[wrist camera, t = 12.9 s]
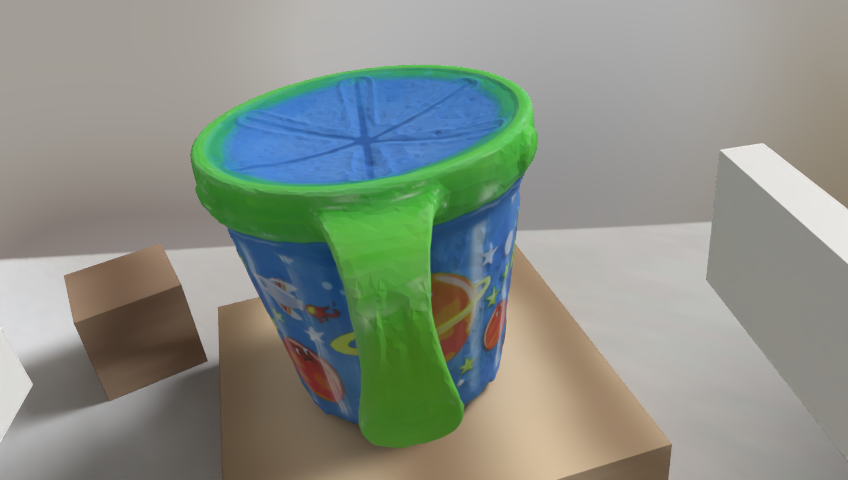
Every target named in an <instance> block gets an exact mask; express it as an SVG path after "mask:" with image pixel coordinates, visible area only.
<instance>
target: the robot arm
mask: <svg viewBox="0 0 848 480" xmlns="http://www.w3.org/2000/svg"><path fill="white" fill-rule="evenodd" d="M706 280H707V281H708V282H709V284H710V285H711V286H712V288H713V289H714V290H715V291H716V293H717V294H718V295H719V297H720V298H721V299H722V300H723V302H724V303H725V304H726V306H727V307H728V308H729V310H730V311H731V312H732V313H733V315H734V316H735V317H736V319H737V320H738V321H739V322H740V324H741V325H742V326H743V328H744V329H745V330H746V331H747V333H748V334H749V335H750V337H751V338H752V339H753V340H754V342H755V343H756V344H757V346H758V347H759V348H760V349H761V351H762V352H763V353H764V355H765V356H766V357H767V358H768V360H769V361H770V362H771V364H772V365H773V366H774V367H775V369H776V370H777V371H778V373H779V374H780V375H781V376H782V378H783V379H784V380H785V382H786V383H787V384H788V386H789V387H790V388H791V389H792V391H793V392H794V393H795V395H796V396H797V397H798V398H799V400H800V401H801V402H802V404H803V405H804V406H805V407H806V409H807V410H808V411H809V413H810V414H811V415H812V416H813V418H814V419H815V420H816V422H817V423H818V424H819V425H820V427H821V428H822V429H823V431H824V432H825V433H826V434H827V436H828V437H829V438H830V440H831V441H832V442H833V443H834V445H835V446H836V447H837V449H838V450H839V451H840V452H841V454H842V455H843V456H844V458H845V459H846V460H847V462H848V209H847V208H845V207H844V206H843V205H841V204H840V203H839V202H838V201H836V200H835V199H834V198H833V197H831V196H830V195H829V194H827V193H826V192H825V191H824V190H822V189H821V188H820V187H819V186H817V185H816V184H815V183H813V182H812V181H811V180H810V179H808V178H807V177H806V176H804V175H803V174H802V173H801V172H799V171H798V170H797V169H795V168H794V167H793V166H792V165H790V164H789V163H788V162H786V161H785V160H784V159H783V158H781V157H780V156H779V155H778V154H776V153H775V152H774V151H772V150H771V149H770V148H769V147H767V146H766V145H765V144H763V143H762V144H755V145H748V146H742V147H735V148H729V149H722V150H720V153H719V162H718V172H717V181H716V191H715V200H714V210H713V220H712V229H711V238H710V248H709V257H708V267H707V276H706ZM32 386H33V384H32V382H31V380H30V378H29V376H28V375H27V373H26V371H25V369H24V367H23V366H22V364H21V362H20V360H19V359H18V357H17V355H16V353H15V351H14V350H13V348H12V346H11V344H10V343H9V341H8V339H7V337H6V335H5V334H4V332H3V330H2V328H1V326H0V443H1V441H2V439H3V437H4V435H5V434H6V432H7V430H8V428H9V427H10V425H11V423H12V421H13V419H14V418H15V416H16V414H17V412H18V411H19V409H20V407H21V405H22V403H23V402H24V400H25V398H26V396H27V394H28V393H29V391H30V389H31V387H32Z"/></svg>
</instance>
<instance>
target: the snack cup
mask: <svg viewBox="0 0 848 480" xmlns="http://www.w3.org/2000/svg"><path fill="white" fill-rule="evenodd" d="M537 142H538V138H537V132H536V130H535V128H534V115H533V109H532V102H531V99H530V98H529V96H528V94H527V93H526V92H525V91H524V90H523V89H522V88H521V87H519V86H518V85H517V84H516V83H514V82H512V81H510V80H507V79H506V78H504V77H501V76H498V75H495V74H492V73H489V72H484V71H481V70H477V69H470V68H463V67H456V66H441V65H399V66H384V67H376V68H367V69H360V70H354V71H347V72H341V73H336V74H332V75H327V76H323V77H318V78H314V79H310V80H306V81H303V82H299V83H296V84H292V85H288V86H285V87H282V88H279V89H276V90H273V91H270V92H268V93H265V94H263V95H260V96H258V97H255V98H253V99H250V100H249V101H247V102H245V103H243V104H240V105H238V106H236V107H234V108H233V109H231V110H229V111H227V112H226V113H224V114H223V115H221V116H219V117H218V118H216V119H215V120H214V121H213V122H211V123H210V124H208V125H207V127H206V128H205V129H204V130H203V131H202V132H201V133H200V134H199V136H198V137H197V138H196V139H195V141H194V143H193V146H192V149H191V154H190V155H191V163H192V168H193V173H194V176H195V180H196V183H197V185H196V193H197V195H198V198H199V200H200V202H201V204H202V205H203V206H204V207H205V208H206V209H207V210H208V211H209V213H210V214H211V215H212V216H213V217H215V218H216V219H217V220H218V221H219V222H220V223H222V224H224V225H225V226H226V227H227V228H228V231H229V234H230V236H231V238H232V239H233V241H234V243H235V245H236V249H237V252H238V254H239V256H240V258H241V260H242V261H243V263H244V266H245V267H246V270H247V272H248V274H249V276H250V278H251V280H252V282H253V284H254V287H255V289H256V291H257V293H258V295H259V297H260V299H261V301H262V303H263V305H264V307H265V309H266V311H267V313H268V314H269V316H270V318H271V321H272V322H273V324H274V325H275V327H276V329H277V332H278V334H279V337H280V338H281V340H282V342H283V344H284V346H285V348H286V350H287V352H288V354H289V356H290V358H291V360H292V362H293V364H294V367H295V369H296V372H297V374H298V376H299V378H300V381H301V382H302V384H303V386H304V387H305V388H306V390H307V392H308V393H309V394H310V395H311V397H312V399H313V401H314V403H315V404H317V405H318V406H319V407H320V408H321V409H322V411H323V412H324V413H326V414H332V415H335V416H338V417H339V418H341V419H343V420H347V421H349V422H351V423H355V424H359V426H360V429H361V432H362V434H363V435H364V437H365V438H366V439H367V440H368V441H369V442H371V443H372V444H374V445H376V446H384V447H390V448H406V447H409V446H412V445H417V444H423V443H428V442H431V441H434V440H437V439H440V438H442V437H444V436H446V435H448V434H450V433H452V432H453V431H455V430H456V429H457V427H458V426H459V425H460V424H461V422H462V419H463V414H464V405H466V404H467V403H469V402H470V401H471V400H473V399H474V398H476V397H477V396H478V395H479V394H480V393H481V392H482V390H483V389H484V387H485V386H486V385H487V384H488V383H489V382H492V381H494V380H495V377H496V374H497V371H498V369H499V365H500V360H501V355H502V348H503V344H504V340H505V333H506V323H507V319H506V315H507V303H508V294H509V290H510V286H511V277H512V268H513V260H514V250H515V240H516V231H517V223H518V211H519V205H520V204H519V203H520V193H519V188H520V183H521V180H522V178H523V176H524V173H525V171H526V170H527V168H528V167H529V165H530V164H531V162H532V160H533V159H534V156H535V153H536V150H537Z"/></svg>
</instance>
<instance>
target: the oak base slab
mask: <svg viewBox="0 0 848 480" xmlns="http://www.w3.org/2000/svg"><path fill="white" fill-rule="evenodd" d="M506 319H507V323H506V333H505V340H504V344H503V348H502V355H501V360H500V365H499V369H498V371H497V374H496V377H495V380H494V381H492V382H489V383H488V384H487V385H486V386H485V387H484V389H483V390H482V392H481V393H480V394H479V395H478V396H477V397H476V398H474V399H473V400H471V401H470V402H469V403H467V404H466V405H464V414H463V419H462V422H461V424H460V425H459V426H458V427H457V429H456V430H455V431H453V432H452V433H450V434H448V435H446V436H444V437H442V438H440V439H437V440H434V441H431V442H428V443H423V444H417V445H412V446H409V447H406V448H390V447H384V446H376V445H374V444H372V443H371V442H369V441H368V440H367V439H366V438H365V437H364V435H363V434H362V432H361V429H360V426H359V424H355V423H351V422H349V421H347V420H343V419H341V418H339V417H338V416H335V415H332V414H326V413H324V412H323V411H322V409H321V408H320V407H319V406H318V405H317V404H315V403H314V401H313V399H312V397H311V395H310V394H309V393H308V392H307V390H306V388H305V387H304V386H303V384H302V382H301V381H300V378H299V376H298V374H297V372H296V369H295V367H294V364H293V362H292V360H291V358H290V356H289V354H288V352H287V350H286V348H285V346H284V344H283V342H282V340H281V338H280V337H279V334H278V332H277V329H276V327H275V325H274V324H273V322H272V321H271V318H270V316H269V314H268V313H267V311H266V309H265V307H264V305H263V303H262V301H261V299H260V297H258V298H254V299H250V300H246V301H242V302H238V303H233V304H229V305H225V306H221V307H218V326H219V363H220V401H221V439H222V477H223V480H668V476H669V467H670V457H671V447H672V444H671V442H670V441H669V440H668V439H667V437H666V436H665V435H664V433H663V432H662V431H661V430H660V428H659V427H658V426H657V425H656V423H655V422H654V421H653V419H652V418H651V417H650V416H649V414H648V413H647V412H646V410H645V409H644V408H643V407H642V405H641V404H640V403H639V402H638V400H637V399H636V398H635V396H634V395H633V394H632V393H631V391H630V390H629V389H628V387H627V386H626V385H625V384H624V382H623V381H622V380H621V379H620V377H619V376H618V375H617V373H616V372H615V371H614V370H613V368H612V367H611V366H610V364H609V363H608V362H607V361H606V359H605V358H604V357H603V356H602V354H601V353H600V352H599V350H598V349H597V348H596V347H595V345H594V344H593V343H592V341H591V340H590V339H589V338H588V336H587V335H586V334H585V332H584V331H583V330H582V329H581V327H580V326H579V325H578V324H577V322H576V321H575V320H574V318H573V317H572V316H571V315H570V313H569V312H568V311H567V309H566V308H565V307H564V306H563V304H562V303H561V302H560V301H559V299H558V298H557V297H556V295H555V294H554V293H553V292H552V290H551V289H550V288H549V286H548V285H547V284H546V283H545V281H544V280H543V279H542V278H541V276H540V275H539V274H538V272H537V271H536V270H535V269H534V267H533V266H532V265H531V263H530V262H529V261H528V260H527V258H526V257H525V256H524V255H523V253H522V252H521V251H520V249H519V248H518V247H517V246H516V244H515V250H514V260H513V268H512V277H511V286H510V290H509V294H508V303H507V315H506Z"/></svg>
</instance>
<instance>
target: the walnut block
mask: <svg viewBox="0 0 848 480" xmlns="http://www.w3.org/2000/svg"><path fill="white" fill-rule="evenodd" d="M64 279H65V283H66V288H67V293H68V298H69V303H70V307H71V312H72V317H73V322H74V325H75V327H76V329H77V331H78V333H79V336H80V338H81V340H82V342H83V344H84V347H85V349H86V351H87V353H88V355H89V357H90V360H91V362H92V364H93V366H94V368H95V370H96V373H97V375H98V377H99V379H100V381H101V384H102V386H103V388H104V390H105V392H106V394H107V397H108V399H109V401H111V400H114V399H116V398H119V397H121V396H123V395H126V394H128V393H131V392H133V391H136V390H138V389H141V388H143V387H146V386H148V385H150V384H153V383H155V382H158V381H160V380H163V379H165V378H168V377H170V376H172V375H175V374H177V373H180V372H182V371H185V370H187V369H190V368H192V367H195V366H197V365H199V364H202V363H204V362H207V358H206V355H205V352H204V349H203V346H202V343H201V340H200V338H199V335H198V332H197V329H196V326H195V323H194V320H193V317H192V315H191V312H190V309H189V306H188V303H187V300H186V297H185V294H184V291H183V289H182V286H181V283H180V281H179V279H178V277H177V275H176V273H175V271H174V269H173V267H172V265H171V263H170V261H169V259H168V257H167V255H166V253H165V251H164V249H163V247H162V245H161V244H157V245H154V246H151V247H149V248H145V249H142V250H139V251H136V252H133V253H130V254H127V255H124V256H121V257H118V258H115V259H112V260H109V261H106V262H103V263H100V264H97V265H94V266H91V267H88V268H85V269H82V270H79V271H76V272H73V273H70V274H67V275H64Z"/></svg>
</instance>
